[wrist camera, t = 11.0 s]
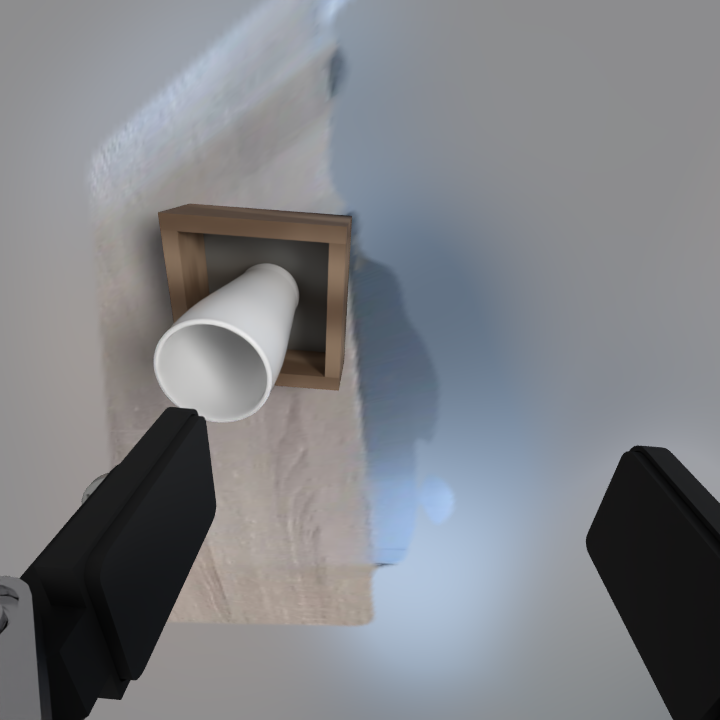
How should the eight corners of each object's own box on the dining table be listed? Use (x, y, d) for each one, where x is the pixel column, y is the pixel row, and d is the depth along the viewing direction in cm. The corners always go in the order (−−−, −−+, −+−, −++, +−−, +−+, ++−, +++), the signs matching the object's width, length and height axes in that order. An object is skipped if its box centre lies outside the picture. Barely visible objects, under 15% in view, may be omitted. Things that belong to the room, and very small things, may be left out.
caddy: (344, 361, 40) (338, 390, 35) (206, 350, 40) (181, 377, 36) (351, 215, 34) (346, 226, 29) (189, 203, 34) (157, 212, 30)
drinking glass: (295, 337, 39) (254, 439, 25) (223, 311, 38) (141, 402, 24) (319, 270, 36) (288, 345, 22) (242, 240, 35) (161, 299, 21)
